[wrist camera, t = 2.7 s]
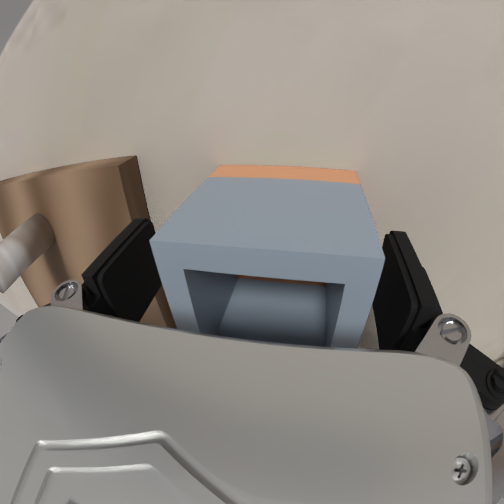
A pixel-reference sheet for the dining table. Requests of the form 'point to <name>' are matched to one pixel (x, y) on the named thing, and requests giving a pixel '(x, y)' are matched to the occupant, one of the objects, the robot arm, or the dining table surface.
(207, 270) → the sleeve
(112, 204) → the pin board
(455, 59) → the dining table surface
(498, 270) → the dining table surface
